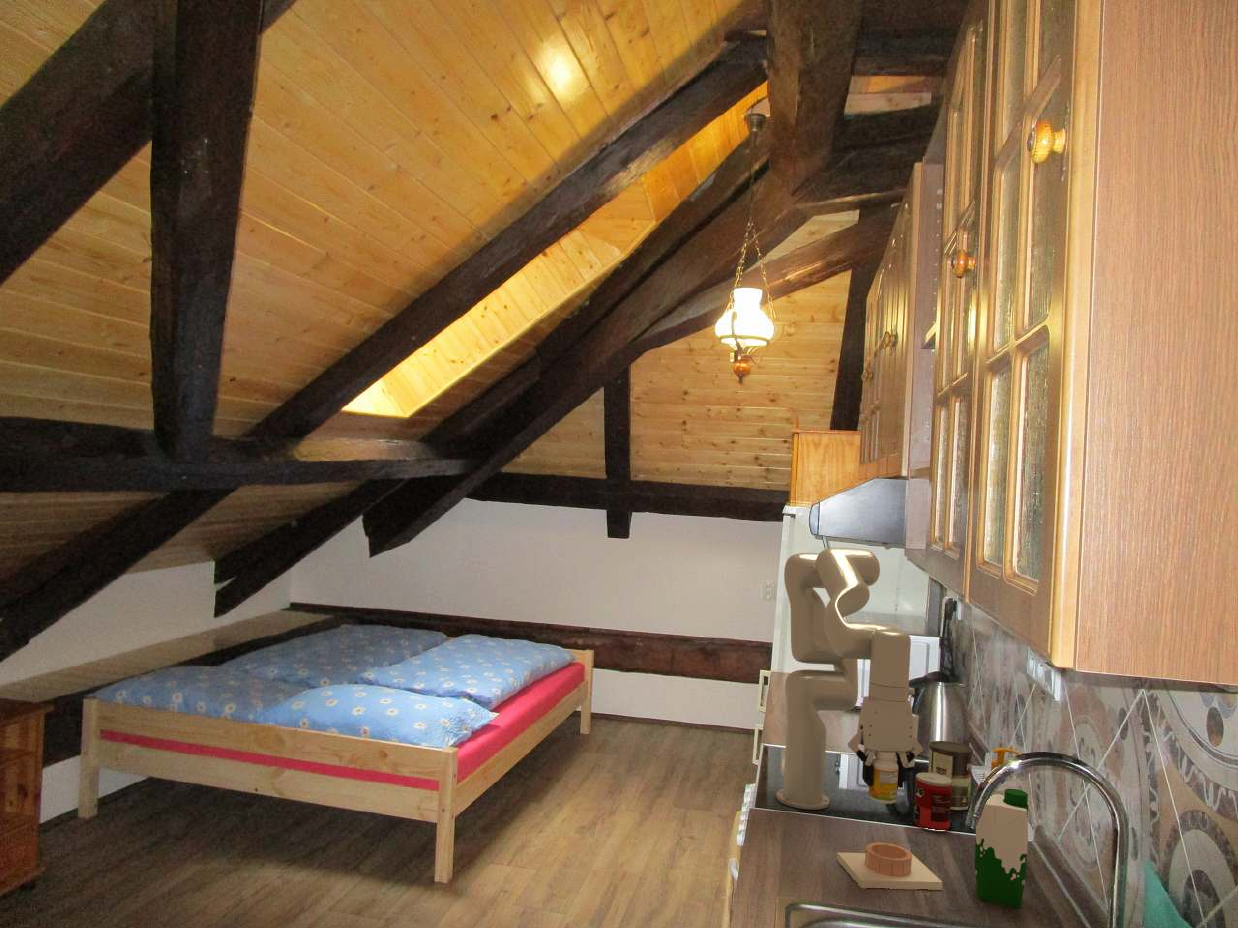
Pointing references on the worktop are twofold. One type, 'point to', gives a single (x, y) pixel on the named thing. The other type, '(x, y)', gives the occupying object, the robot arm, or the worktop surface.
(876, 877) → the coaster board
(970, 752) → the coffee can
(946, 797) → the canned food
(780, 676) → the worktop surface
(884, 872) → the bottle collar
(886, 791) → the supplement bottle
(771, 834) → the worktop surface
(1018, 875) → the milk carton
